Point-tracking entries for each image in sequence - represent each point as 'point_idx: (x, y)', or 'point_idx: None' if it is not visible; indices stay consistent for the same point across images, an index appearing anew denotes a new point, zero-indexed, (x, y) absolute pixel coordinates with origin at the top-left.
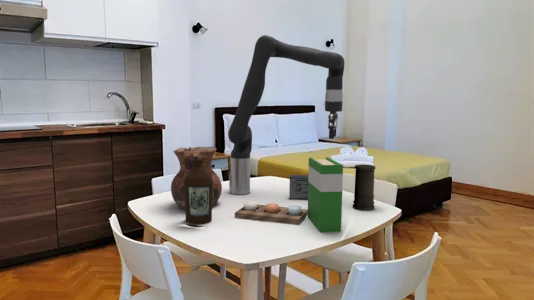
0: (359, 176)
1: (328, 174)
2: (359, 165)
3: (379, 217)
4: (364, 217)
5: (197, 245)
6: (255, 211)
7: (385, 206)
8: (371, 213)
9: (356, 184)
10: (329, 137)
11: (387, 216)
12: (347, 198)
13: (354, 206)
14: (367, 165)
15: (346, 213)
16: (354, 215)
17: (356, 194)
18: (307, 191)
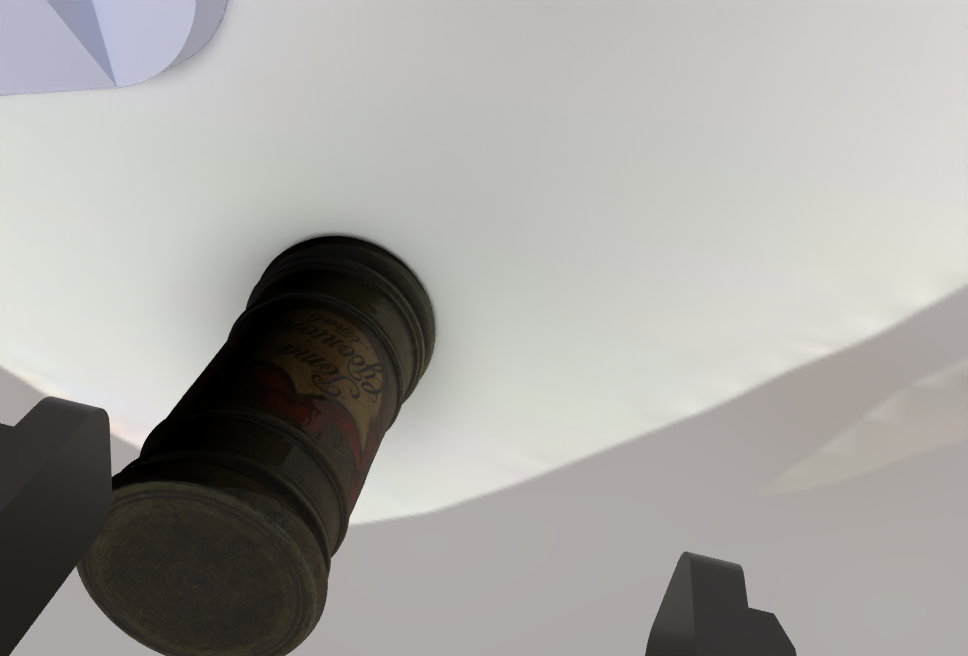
0: (152, 438)
1: None
2: (218, 535)
3: (106, 368)
4: (71, 267)
5: None
6: None
7: (421, 481)
8: (195, 339)
9: (221, 363)
10: (42, 420)
11: (147, 423)
12: (686, 245)
13: (296, 248)
14: (240, 615)
15: (140, 148)
16: (101, 203)
17: (255, 313)
18: None
